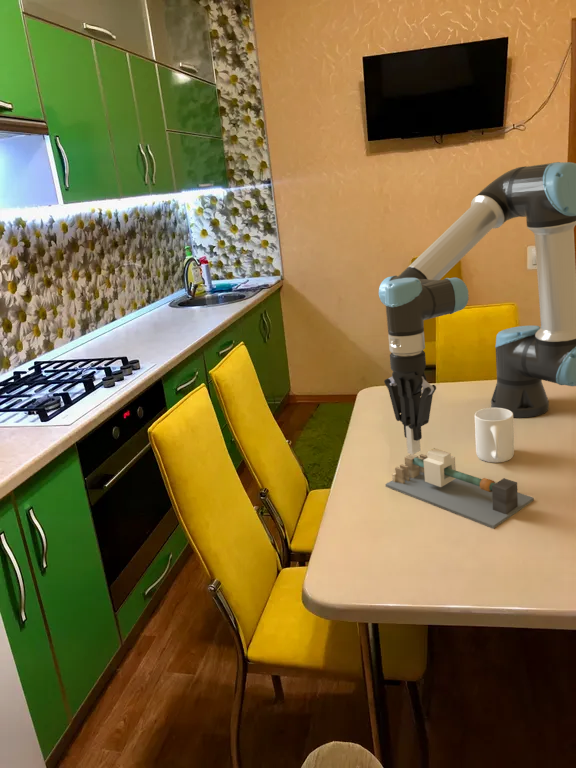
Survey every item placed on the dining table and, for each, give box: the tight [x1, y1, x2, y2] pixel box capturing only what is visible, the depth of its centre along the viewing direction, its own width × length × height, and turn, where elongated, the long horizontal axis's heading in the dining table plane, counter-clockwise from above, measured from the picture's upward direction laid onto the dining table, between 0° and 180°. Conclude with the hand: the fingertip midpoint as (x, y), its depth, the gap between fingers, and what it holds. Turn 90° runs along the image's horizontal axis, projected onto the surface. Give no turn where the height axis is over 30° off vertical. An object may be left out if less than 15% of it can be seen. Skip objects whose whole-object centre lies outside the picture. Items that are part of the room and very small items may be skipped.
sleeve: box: [423, 447, 457, 487], centre depth 135 cm, size 5×4×7 cm
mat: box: [385, 472, 535, 530], centre depth 133 cm, size 14×28×1 cm, turn 38°
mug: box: [474, 407, 515, 464], centre depth 144 cm, size 9×12×11 cm
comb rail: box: [391, 453, 518, 514], centre depth 132 cm, size 10×27×6 cm, turn 38°
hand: (414, 451), depth 139 cm, fingers closed
